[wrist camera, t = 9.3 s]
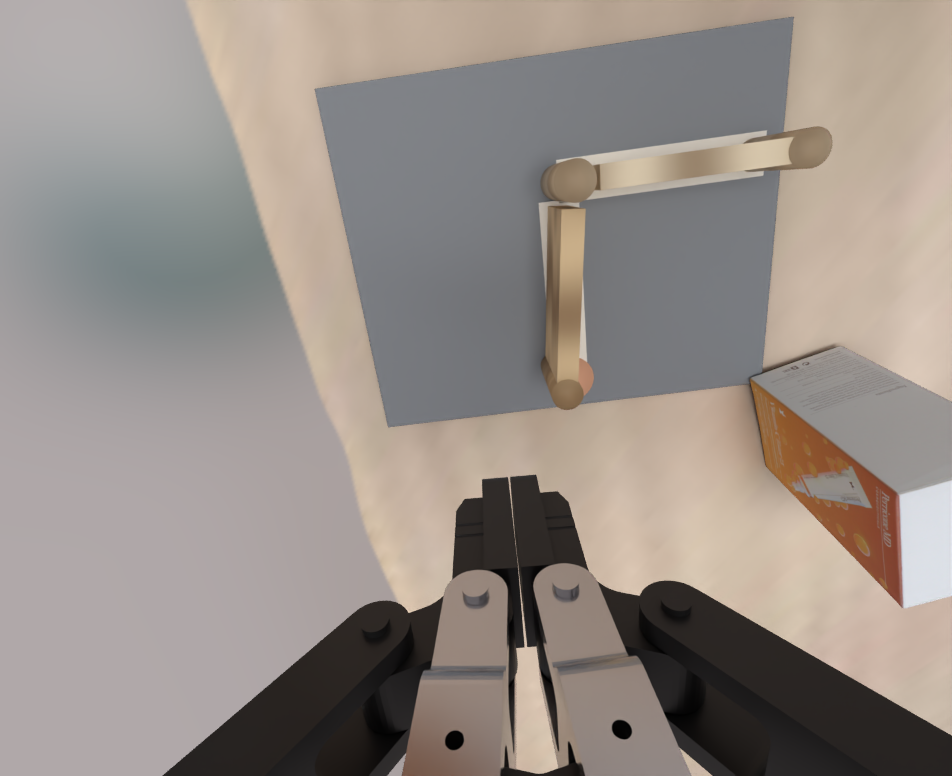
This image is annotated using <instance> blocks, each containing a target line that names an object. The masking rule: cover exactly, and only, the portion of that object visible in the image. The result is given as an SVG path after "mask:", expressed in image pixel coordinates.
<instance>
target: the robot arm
mask: <svg viewBox="0 0 952 776" xmlns="http://www.w3.org/2000/svg"><path fill="white" fill-rule="evenodd" d="M510 482H511V494H512V506H513V518H514V527H513V518H512V509H511V500H510V491H509V482H508V477H505V478H493V479H482V493H483V498H472V499H464V501H463V502H462V504H461V505H460V507H459V508H458V510H457V511H456V527H455V543H454V560H453V577H452V580H451V581H450V583H449V584H448V585H447V587H446V589H445V592H444V596H443V597H442V598H441V599H439V600H438V601H437V602H435V603H433V604H432V605H430V606H427V607H425V608H422V609H419V610H416V611H414V612H411V613H408V612H407V610H406V609H405V608H404V607H403V606H402V605H400V604H398V603H396V602H392V601H378V602H373V603H370V604H368V605H365V606H363V607H362V608H360V609H358V610H357V611H356V612H355V613H353V614H352V615H351V616H350V617H349V618H347V619H346V620H345V621H344V622H343V623H342V624H341V625H339V626H338V627H337V628H336V629H334V630H333V631H332V632H331V633H330V634H329V635H327V636H326V637H325V638H324V639H323V640H321V641H320V642H319V643H318V644H317V645H316V646H314V647H313V648H312V649H311V650H310V651H309V652H307V653H306V654H305V655H304V656H303V657H302V658H300V659H299V660H298V661H297V662H296V663H294V664H293V665H292V666H291V667H290V668H289V669H287V670H286V671H285V672H284V673H283V674H282V675H280V676H279V677H278V678H277V679H276V680H275V681H273V682H272V683H271V684H270V685H269V686H267V687H266V688H265V689H264V690H263V691H262V692H260V693H259V694H258V695H257V696H256V697H254V698H253V699H252V700H251V701H250V702H249V703H247V704H246V705H245V706H244V707H243V708H242V709H241V710H239V711H238V712H237V713H236V714H234V715H233V716H232V717H231V718H230V719H229V720H227V721H226V722H225V723H224V724H223V725H222V726H220V727H219V728H218V729H217V730H216V731H215V732H213V733H212V734H211V735H210V736H209V737H207V738H206V739H205V740H204V741H203V742H202V743H201V744H199V745H198V746H197V747H196V748H195V749H193V750H192V751H191V752H190V753H189V754H188V755H186V756H185V757H184V758H183V759H182V760H181V761H179V762H178V763H177V764H176V765H175V766H173V767H172V768H171V769H170V770H169V771H167V772H166V773H165V774H164V775H163V776H387V775H388V774H389V772H390V771H391V770H392V769H393V768H394V766H395V765H396V764H397V763H398V762H399V760H400V759H401V758H402V757H403V755H404V754H405V753H406V756H405V762H404V767H403V772H402V776H691V774H690V771H689V769H688V767H687V765H686V762H685V760H684V758H683V755H682V753H681V751H680V749H679V747H680V748H681V749H682V750H683V751H684V752H685V753H687V754H688V755H689V756H690V757H691V758H692V759H694V760H695V761H696V762H697V763H698V764H700V765H701V766H702V767H703V768H704V769H705V770H707V771H708V772H709V773H710V774H711V775H713V776H952V736H951V735H950V734H948V733H946V732H944V731H943V730H941V729H939V728H937V727H936V726H934V725H932V724H930V723H929V722H927V721H925V720H924V719H922V718H920V717H918V716H917V715H915V714H913V713H911V712H910V711H908V710H906V709H904V708H903V707H901V706H899V705H897V704H896V703H894V702H892V701H890V700H889V699H887V698H885V697H883V696H882V695H880V694H878V693H876V692H875V691H873V690H871V689H870V688H868V687H866V686H864V685H863V684H861V683H859V682H857V681H856V680H854V679H852V678H850V677H849V676H847V675H845V674H843V673H842V672H840V671H838V670H836V669H835V668H833V667H831V666H829V665H828V664H826V663H824V662H822V661H821V660H819V659H817V658H815V657H814V656H812V655H810V654H809V653H807V652H805V651H803V650H802V649H800V648H798V647H796V646H795V645H793V644H791V643H789V642H788V641H786V640H784V639H782V638H781V637H779V636H777V635H775V634H774V633H772V632H770V631H768V630H767V629H765V628H763V627H761V626H760V625H758V624H756V623H755V622H753V621H751V620H749V619H748V618H746V617H744V616H742V615H741V614H739V613H737V612H735V611H734V610H732V609H730V608H728V607H727V606H725V605H723V604H721V603H720V602H718V601H716V600H714V599H713V598H711V597H709V596H707V595H706V594H704V593H702V592H700V591H699V590H697V589H695V588H693V587H691V586H689V585H687V584H684V583H681V582H676V581H659V582H655V583H652V584H650V585H648V586H647V587H646V588H645V589H644V590H643V591H642V593H641V594H640V596H637V595H632V594H626V593H621V592H617V591H614V590H611V589H609V588H607V587H605V586H603V585H602V584H600V583H599V582H597V580H596V578H595V577H594V576H593V574H591V573H590V572H589V570H588V568H587V564H586V561H585V557H584V554H583V551H582V547H581V544H580V540H579V537H578V533H577V530H576V528H575V523H574V520H573V518H572V513H571V510H570V506H569V503H568V501H567V500H566V499H565V498H564V497H563V496H562V495H560V494H559V493H558V492H557V491H556V492H544V493H540V490H539V486H538V481H537V476H536V475H528V476H516V477H510ZM514 530H515V536H514ZM515 540H516V545H515ZM516 550H517V554H516ZM517 559H518V563H517ZM518 567H519V574H518ZM519 576H520V585H521V594H522V603H523V612H524V621H525V630H526V639H527V647H534V646H537V654H538V661H539V676H540V683H541V688H542V692H543V697H544V702H545V706H546V711H547V716H548V721H549V725H550V730H551V735H552V739H553V744H554V749H555V753H556V758H557V763H558V769H555V770H553V771H550V772H547V773H544V774H535V773H530V772H526V771H521V770H517V769H516V673H517V665H518V663H517V652H516V648H522V647H524V635H523V623H522V611H521V599H520V586H519Z"/></svg>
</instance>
